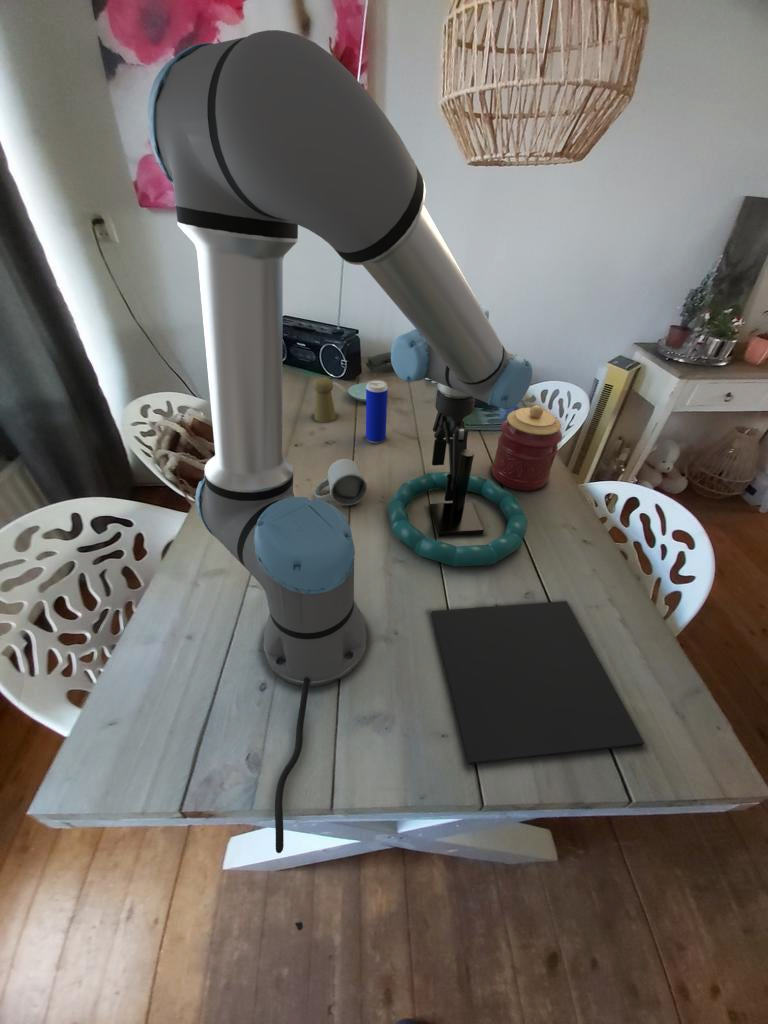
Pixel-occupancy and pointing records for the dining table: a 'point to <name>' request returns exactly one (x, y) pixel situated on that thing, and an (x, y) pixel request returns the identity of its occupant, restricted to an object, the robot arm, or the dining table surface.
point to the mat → (528, 683)
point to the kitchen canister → (527, 448)
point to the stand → (458, 505)
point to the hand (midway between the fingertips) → (444, 481)
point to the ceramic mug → (343, 483)
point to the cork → (323, 400)
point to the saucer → (358, 391)
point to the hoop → (446, 551)
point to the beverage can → (376, 411)
